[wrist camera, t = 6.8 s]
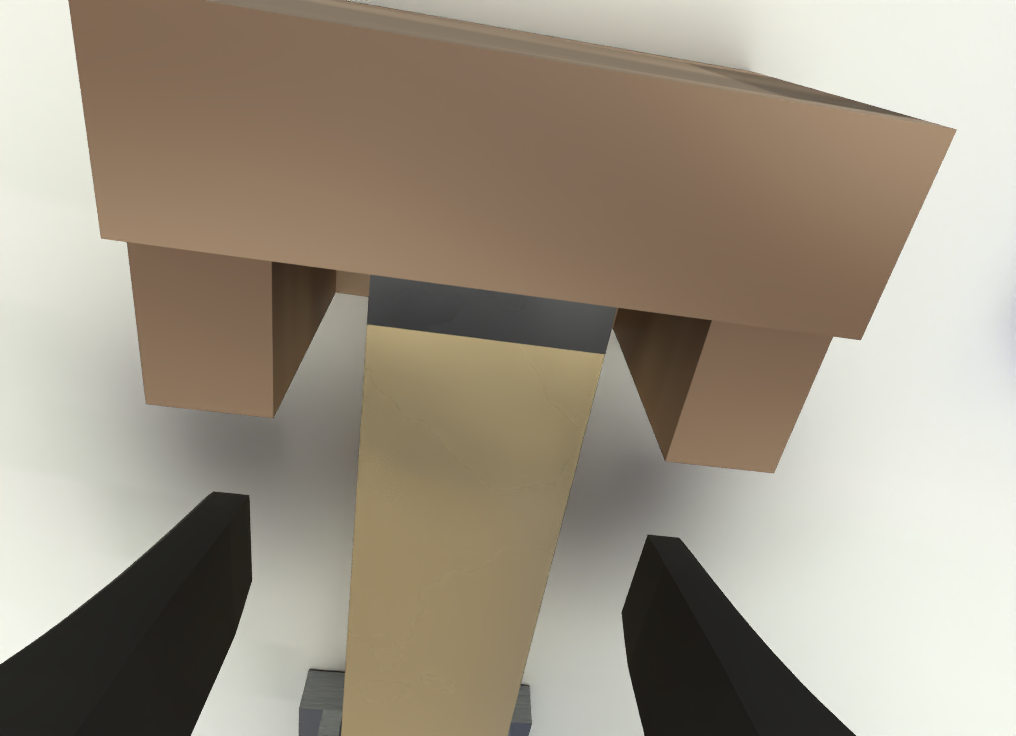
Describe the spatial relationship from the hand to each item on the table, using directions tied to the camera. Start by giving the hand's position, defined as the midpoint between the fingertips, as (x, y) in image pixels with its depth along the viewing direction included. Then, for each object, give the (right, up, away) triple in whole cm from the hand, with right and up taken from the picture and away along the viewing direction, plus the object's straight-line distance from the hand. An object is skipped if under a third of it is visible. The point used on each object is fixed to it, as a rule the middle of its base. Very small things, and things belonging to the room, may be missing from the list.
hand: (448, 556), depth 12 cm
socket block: (+1, +7, 0) cm, 7 cm away
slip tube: (0, 0, +2) cm, 2 cm away
